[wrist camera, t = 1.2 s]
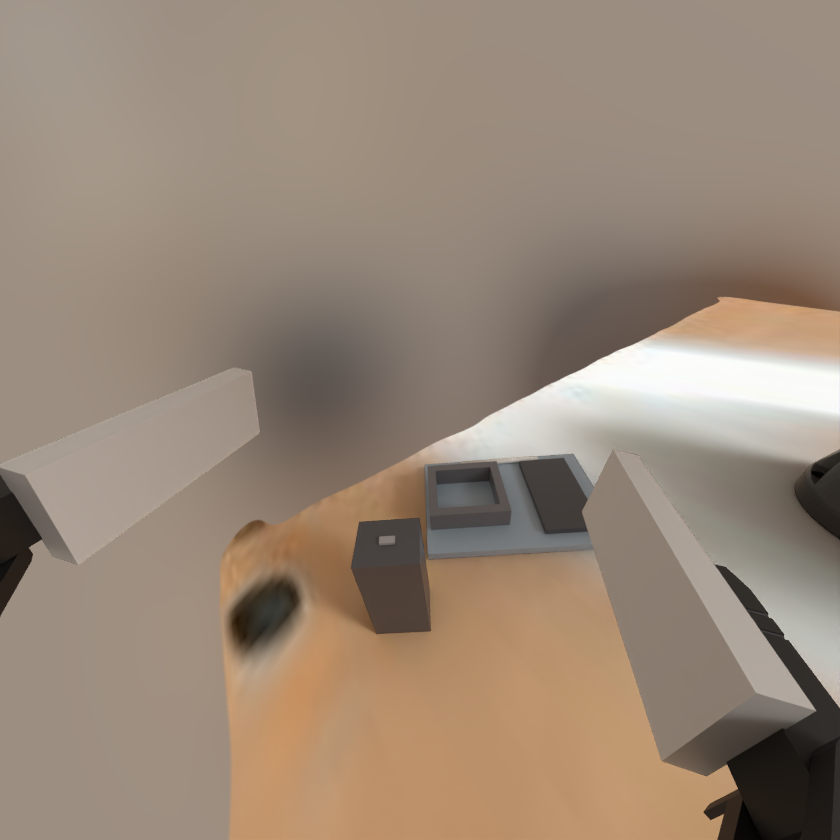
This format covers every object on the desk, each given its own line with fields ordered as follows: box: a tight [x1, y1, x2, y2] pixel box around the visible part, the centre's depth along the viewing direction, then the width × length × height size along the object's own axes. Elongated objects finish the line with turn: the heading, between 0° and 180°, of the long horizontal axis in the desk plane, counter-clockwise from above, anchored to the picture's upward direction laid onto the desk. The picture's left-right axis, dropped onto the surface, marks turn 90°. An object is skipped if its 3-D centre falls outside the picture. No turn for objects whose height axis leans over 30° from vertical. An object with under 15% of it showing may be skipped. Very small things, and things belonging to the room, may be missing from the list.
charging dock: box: [425, 454, 594, 559], centre depth 39 cm, size 21×14×4 cm, turn 91°
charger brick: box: [351, 518, 431, 634], centre depth 28 cm, size 5×4×11 cm
